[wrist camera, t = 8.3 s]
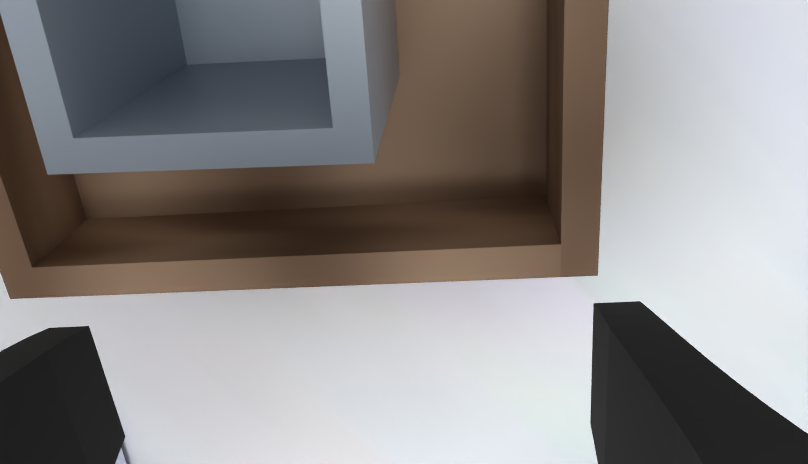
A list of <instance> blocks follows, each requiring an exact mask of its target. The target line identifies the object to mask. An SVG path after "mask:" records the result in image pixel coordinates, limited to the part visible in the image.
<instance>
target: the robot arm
mask: <svg viewBox="0 0 808 464" xmlns="http://www.w3.org/2000/svg"><path fill="white" fill-rule="evenodd" d="M591 428H592V434H593V439H594V444H595V450H596V455H597V460H598V464H808V434H807V433H806V432H804V431H803V430H802V429H800V428H799V427H797V426H796V425H794V424H793V423H792V422H790V421H789V420H787V419H786V418H784V417H783V416H782V415H780V414H779V413H777V412H776V411H775V410H773V409H772V408H770V407H769V406H768V405H766V404H765V403H764V402H762V401H761V400H760V399H758V398H757V397H756V396H754V395H753V394H752V393H750V392H749V391H748V390H746V389H745V388H744V387H742V386H741V385H740V384H739V383H737V382H736V381H735V380H733V379H732V378H731V377H730V376H728V375H727V374H726V373H725V372H723V371H722V370H721V369H720V368H718V367H717V366H716V365H715V364H713V363H712V362H711V361H710V360H709V359H707V358H706V357H705V356H704V355H702V354H701V353H700V352H699V351H698V350H696V349H695V348H694V347H693V346H692V345H691V344H689V343H688V342H687V341H686V340H685V339H683V338H682V337H681V336H680V335H679V334H678V333H676V332H675V331H674V330H673V329H672V328H671V327H669V326H668V325H667V324H666V323H665V322H664V321H663V320H661V319H660V318H659V317H658V316H657V315H656V314H654V313H653V312H652V311H651V310H650V309H649V308H647V307H646V306H645V305H644V304H643V303H641V302H640V301H637V302H615V303H594V312H593V349H592V386H591ZM124 438H125V435H124V432H123V429H122V426H121V422H120V419H119V416H118V413H117V410H116V407H115V404H114V401H113V398H112V395H111V392H110V389H109V386H108V383H107V380H106V377H105V374H104V371H103V368H102V365H101V362H100V359H99V355H98V352H97V349H96V346H95V343H94V340H93V337H92V334H91V331H90V328H89V326H82V327H59V328H48V329H46V330H44V331H41V332H39V333H37V334H34V335H32V336H30V337H28V338H26V339H24V340H22V341H20V342H18V343H16V344H14V345H12V346H10V347H8V348H6V349H4V350H3V351H1V352H0V464H126V461H125V457H124V454H123V451H122V448H121V447H122V444H123V441H124Z"/></svg>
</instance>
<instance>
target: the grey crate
mask: <svg viewBox="0 0 808 464" xmlns="http://www.w3.org/2000/svg"><path fill="white" fill-rule="evenodd" d="M0 14H1V17H2V21H3V24H4V27H5V31H6V34H7V38H8V41H9V45H10V48H11V51H12V55H13V58H14V62H15V65H16V69H17V72H18V75H19V79H20V82H21V86H22V89H23V92H24V96H25V99H26V103H27V106H28V110H29V113H30V116H31V120H32V123H33V127H34V130H35V133H36V137H37V140H38V144H39V147H40V151H41V154H42V157H43V161H44V164H45V168H46V171H47V174H48V175H53V174H81V173H110V172H139V171H167V170H196V169H225V168H254V167H282V166H311V165H340V164H368V163H375V159H376V156H377V152H378V149H379V146H380V142H381V139H382V135H383V132H384V128H385V125H386V121H387V118H388V114H389V111H390V108H391V104H392V101H393V97H394V94H395V90H396V87H397V83H398V80H399V76H400V71H399V55H398V39H397V22H396V6H395V0H0Z"/></svg>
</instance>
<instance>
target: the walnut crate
mask: <svg viewBox="0 0 808 464" xmlns="http://www.w3.org/2000/svg"><path fill="white" fill-rule="evenodd" d="M608 5H609V0H395V6H396V22H397V39H398V55H399V71H400V76H399V80H398V83H397V87H396V90H395V94H394V97H393V101H392V104H391V108H390V111H389V114H388V118H387V121H386V125H385V128H384V132H383V135H382V139H381V142H380V146H379V149H378V152H377V156H376V159H375V163H368V164H340V165H311V166H282V167H254V168H225V169H196V170H167V171H139V172H110V173H81V174H53V175H48V174H47V171H46V168H45V164H44V161H43V157H42V154H41V151H40V147H39V144H38V140H37V137H36V133H35V130H34V127H33V123H32V120H31V116H30V113H29V110H28V106H27V103H26V99H25V96H24V92H23V89H22V86H21V82H20V79H19V75H18V72H17V69H16V65H15V62H14V58H13V55H12V51H11V48H10V45H9V41H8V38H7V34H6V31H5V27H4V24H3V21H2V17H1V14H0V272H1V275H2V278H3V280H4V283H5V286H6V288H7V291H8V294H9V297H10V299H18V298H43V297H68V296H94V295H119V294H144V293H169V292H194V291H220V290H245V289H270V288H295V287H320V286H346V285H371V284H396V283H421V282H446V281H472V280H497V279H522V278H547V277H572V276H598V256H599V231H600V206H601V181H602V155H603V130H604V105H605V80H606V55H607V30H608Z"/></svg>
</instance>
